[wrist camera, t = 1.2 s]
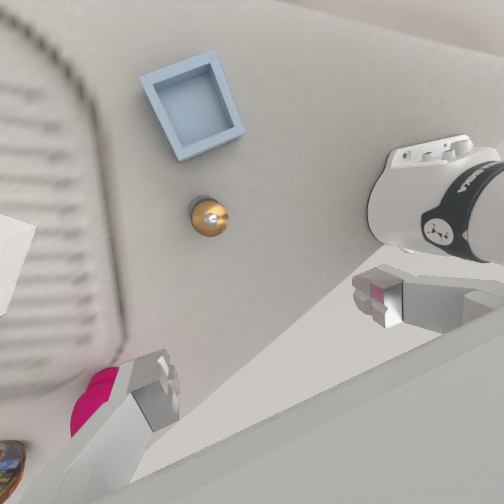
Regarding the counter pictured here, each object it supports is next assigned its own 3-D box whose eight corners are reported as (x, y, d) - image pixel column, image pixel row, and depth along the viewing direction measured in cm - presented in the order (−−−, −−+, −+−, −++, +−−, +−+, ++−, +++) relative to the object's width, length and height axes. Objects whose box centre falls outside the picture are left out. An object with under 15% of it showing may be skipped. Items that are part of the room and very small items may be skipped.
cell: (211, 191, 32) (220, 194, 24) (223, 217, 34) (235, 229, 26) (184, 203, 32) (184, 210, 24) (198, 229, 33) (202, 245, 25)
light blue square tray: (211, 63, 28) (214, 48, 25) (239, 137, 31) (245, 132, 28) (143, 89, 27) (137, 76, 24) (179, 162, 30) (178, 160, 27)
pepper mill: (141, 364, 37) (97, 551, 18) (136, 402, 38) (90, 610, 20) (87, 364, 34) (-27, 578, 16) (84, 404, 36) (-23, 641, 17)
